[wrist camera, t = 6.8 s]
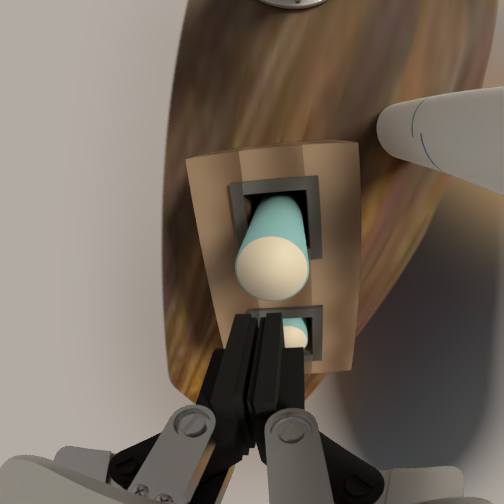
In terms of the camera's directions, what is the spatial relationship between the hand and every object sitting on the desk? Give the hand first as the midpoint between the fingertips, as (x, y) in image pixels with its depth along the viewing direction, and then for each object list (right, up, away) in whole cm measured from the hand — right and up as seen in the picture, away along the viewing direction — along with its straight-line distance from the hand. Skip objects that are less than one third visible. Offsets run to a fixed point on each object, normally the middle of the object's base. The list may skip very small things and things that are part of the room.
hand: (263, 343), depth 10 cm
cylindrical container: (+18, +18, +19) cm, 32 cm away
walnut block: (+4, +5, +26) cm, 27 cm away
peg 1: (+2, +7, +16) cm, 18 cm away
